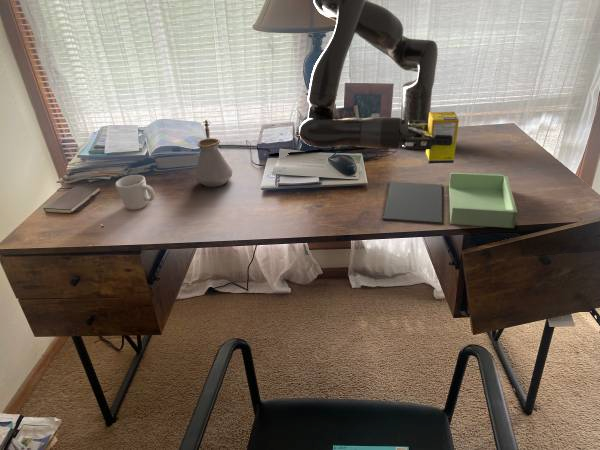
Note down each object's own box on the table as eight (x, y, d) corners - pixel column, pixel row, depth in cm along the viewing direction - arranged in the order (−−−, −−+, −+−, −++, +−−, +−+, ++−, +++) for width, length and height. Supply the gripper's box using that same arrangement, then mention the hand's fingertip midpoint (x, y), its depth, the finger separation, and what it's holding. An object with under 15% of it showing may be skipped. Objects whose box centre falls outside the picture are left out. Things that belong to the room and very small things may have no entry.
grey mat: (383, 219, 109) (383, 218, 109) (390, 183, 125) (390, 182, 125) (441, 223, 105) (441, 222, 105) (441, 186, 122) (441, 184, 121)
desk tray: (450, 223, 105) (452, 207, 103) (449, 186, 121) (450, 172, 119) (513, 228, 101) (517, 211, 99) (503, 189, 117) (506, 174, 115)
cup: (165, 201, 127) (158, 176, 122) (149, 215, 120) (141, 189, 116) (134, 197, 130) (127, 173, 126) (117, 211, 124) (108, 185, 119)
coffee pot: (235, 186, 131) (227, 139, 123) (196, 192, 130) (186, 144, 122) (231, 159, 149) (224, 116, 141) (197, 164, 148) (188, 121, 140)
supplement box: (449, 153, 110) (454, 110, 104) (453, 163, 105) (459, 119, 99) (424, 154, 110) (428, 111, 105) (428, 164, 105) (432, 119, 99)
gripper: (377, 128, 100) (454, 130, 96) (384, 108, 112) (452, 109, 107) (377, 158, 104) (450, 161, 100) (383, 136, 116) (449, 138, 111)
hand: (451, 134), depth 104 cm, fingers closed on supplement box, 6 cm apart
